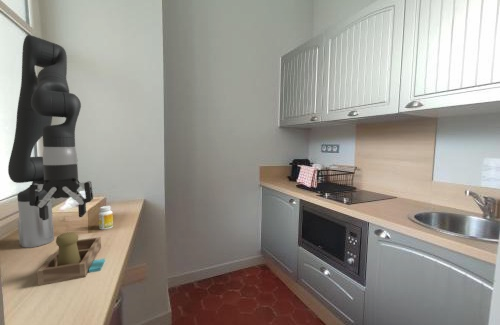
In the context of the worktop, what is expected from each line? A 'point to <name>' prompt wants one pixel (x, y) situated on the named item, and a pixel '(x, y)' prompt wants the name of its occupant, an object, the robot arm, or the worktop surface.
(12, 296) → the worktop surface
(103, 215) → the supplement bottle
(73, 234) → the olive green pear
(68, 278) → the wooden divided tray
